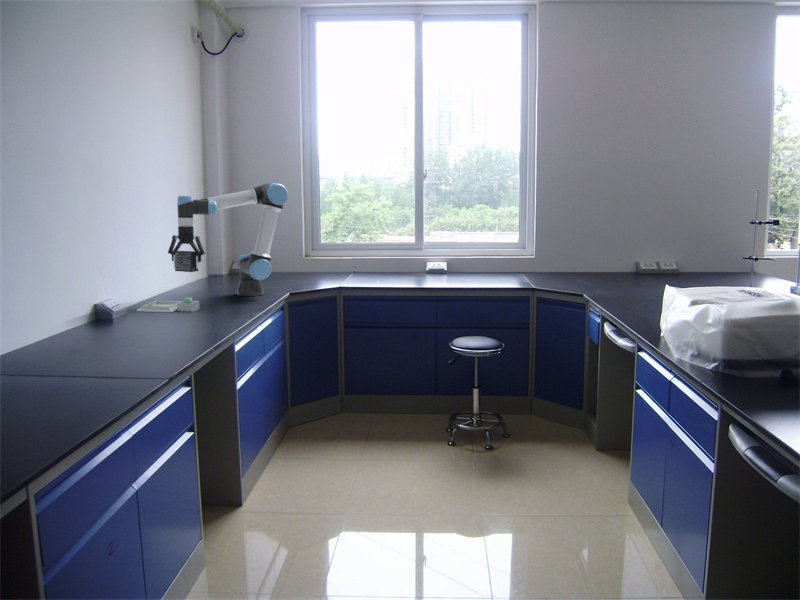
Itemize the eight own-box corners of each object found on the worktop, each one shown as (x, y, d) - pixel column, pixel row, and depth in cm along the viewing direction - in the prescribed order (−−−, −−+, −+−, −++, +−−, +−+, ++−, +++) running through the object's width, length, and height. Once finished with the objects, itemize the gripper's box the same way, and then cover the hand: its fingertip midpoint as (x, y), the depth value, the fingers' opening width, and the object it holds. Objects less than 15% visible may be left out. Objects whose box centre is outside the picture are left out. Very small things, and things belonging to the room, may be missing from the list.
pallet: (187, 305, 321) (187, 301, 321) (172, 312, 303) (172, 307, 303) (153, 304, 322) (152, 300, 322) (136, 311, 304) (136, 306, 304)
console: (199, 308, 314) (199, 300, 313) (193, 311, 306) (193, 303, 305) (183, 308, 314) (183, 300, 314) (177, 311, 306) (177, 303, 306)
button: (193, 305, 311) (192, 297, 311) (190, 306, 308) (190, 298, 307) (186, 305, 312) (185, 297, 311) (183, 306, 308) (183, 298, 307)
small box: (199, 271, 328) (198, 251, 326) (191, 272, 321) (190, 252, 320) (182, 269, 331) (182, 250, 329) (174, 271, 325) (173, 251, 323)
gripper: (210, 226, 325) (211, 267, 329) (166, 224, 327) (167, 266, 330) (205, 226, 318) (206, 269, 321) (160, 225, 320) (161, 267, 323)
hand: (186, 267), depth 326 cm, fingers closed on small box, 11 cm apart
